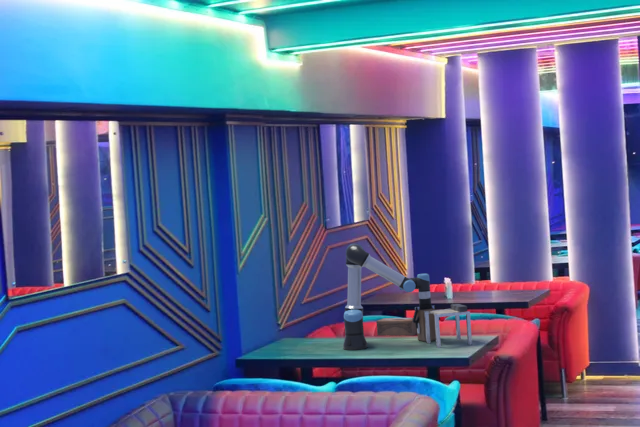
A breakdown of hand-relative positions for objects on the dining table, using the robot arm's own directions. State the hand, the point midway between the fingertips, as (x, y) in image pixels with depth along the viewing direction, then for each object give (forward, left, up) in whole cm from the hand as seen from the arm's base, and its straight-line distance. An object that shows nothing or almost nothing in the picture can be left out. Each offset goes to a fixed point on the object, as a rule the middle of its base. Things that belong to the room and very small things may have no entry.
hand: (427, 332), depth 609 cm
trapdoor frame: (+21, +7, -5) cm, 23 cm away
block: (0, 0, -5) cm, 5 cm away
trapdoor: (+21, +8, +14) cm, 26 cm away
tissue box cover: (-38, -8, -6) cm, 39 cm away
